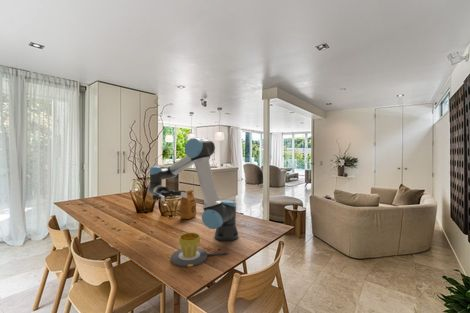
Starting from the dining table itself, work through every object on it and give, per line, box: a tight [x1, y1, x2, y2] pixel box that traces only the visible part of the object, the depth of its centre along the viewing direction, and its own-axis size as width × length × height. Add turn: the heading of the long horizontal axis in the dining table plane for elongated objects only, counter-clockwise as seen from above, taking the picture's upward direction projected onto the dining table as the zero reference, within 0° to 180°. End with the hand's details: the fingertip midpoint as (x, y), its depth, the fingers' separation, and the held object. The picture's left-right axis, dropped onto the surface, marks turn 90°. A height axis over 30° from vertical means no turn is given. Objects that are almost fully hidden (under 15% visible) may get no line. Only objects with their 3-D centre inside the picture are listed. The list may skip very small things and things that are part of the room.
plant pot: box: [178, 232, 201, 258], centre depth 117 cm, size 10×10×10 cm
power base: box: [170, 247, 229, 268], centre depth 119 cm, size 30×18×2 cm, turn 104°
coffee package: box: [179, 189, 197, 220], centre depth 184 cm, size 10×12×22 cm
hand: (175, 197), depth 129 cm, fingers open, 13 cm apart
